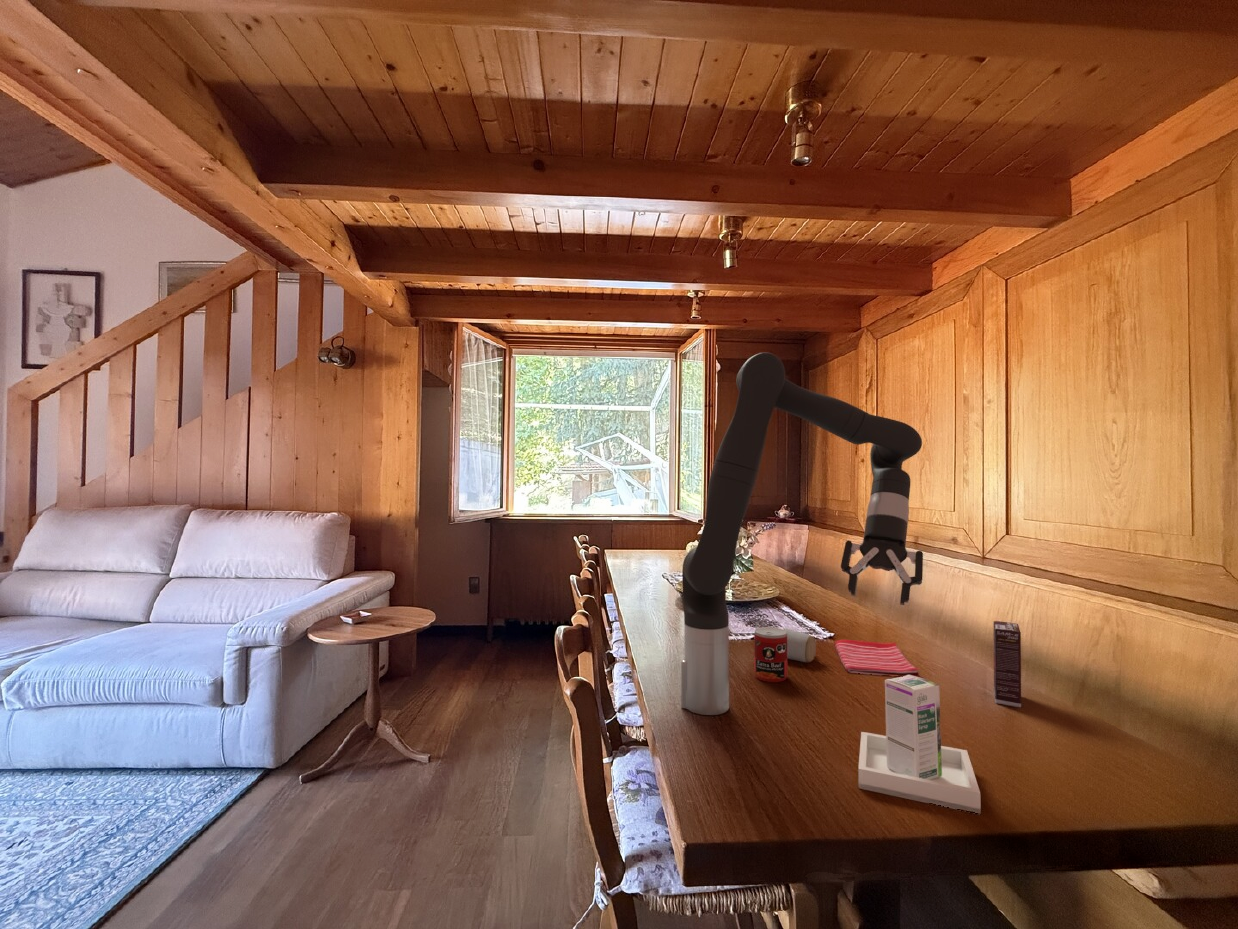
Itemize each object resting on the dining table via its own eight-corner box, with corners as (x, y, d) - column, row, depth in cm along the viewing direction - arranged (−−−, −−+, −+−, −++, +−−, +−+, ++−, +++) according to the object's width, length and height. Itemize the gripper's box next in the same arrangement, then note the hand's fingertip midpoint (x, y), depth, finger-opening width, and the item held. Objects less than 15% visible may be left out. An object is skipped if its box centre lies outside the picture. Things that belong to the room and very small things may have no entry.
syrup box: (917, 785, 86) (916, 690, 86) (885, 767, 91) (884, 677, 92) (942, 777, 88) (941, 684, 89) (909, 760, 94) (908, 672, 94)
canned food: (752, 680, 133) (751, 633, 133) (757, 669, 140) (756, 625, 141) (785, 684, 130) (785, 637, 130) (788, 673, 138) (788, 628, 138)
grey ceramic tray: (858, 788, 87) (858, 768, 87) (861, 748, 99) (861, 731, 99) (980, 814, 80) (980, 793, 80) (967, 768, 92) (966, 750, 92)
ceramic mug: (807, 666, 143) (807, 636, 143) (777, 660, 148) (777, 630, 148) (821, 657, 151) (821, 628, 151) (792, 651, 156) (792, 623, 156)
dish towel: (898, 651, 157) (898, 642, 157) (922, 681, 134) (921, 669, 134) (833, 647, 161) (833, 637, 161) (845, 674, 138) (845, 664, 138)
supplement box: (1022, 708, 117) (1021, 632, 117) (994, 703, 119) (993, 628, 120) (1019, 695, 124) (1018, 623, 125) (993, 690, 127) (992, 620, 127)
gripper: (847, 508, 112) (835, 587, 107) (928, 518, 105) (920, 603, 100) (849, 521, 118) (839, 596, 113) (926, 530, 111) (918, 611, 106)
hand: (877, 599), depth 106 cm, fingers open, 8 cm apart
